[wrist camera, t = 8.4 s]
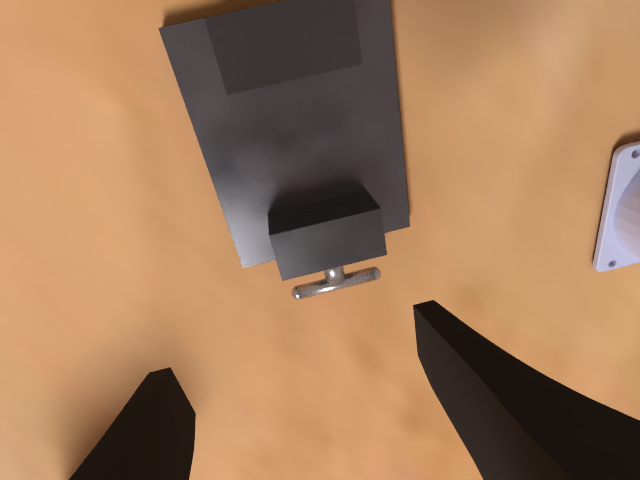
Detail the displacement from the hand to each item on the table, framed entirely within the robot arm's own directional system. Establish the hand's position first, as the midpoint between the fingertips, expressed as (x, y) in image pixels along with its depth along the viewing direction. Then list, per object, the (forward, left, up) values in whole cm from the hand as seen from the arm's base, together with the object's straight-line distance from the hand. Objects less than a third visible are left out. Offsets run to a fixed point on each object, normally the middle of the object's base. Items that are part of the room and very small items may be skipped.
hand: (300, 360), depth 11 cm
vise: (-2, -4, -9) cm, 10 cm away
